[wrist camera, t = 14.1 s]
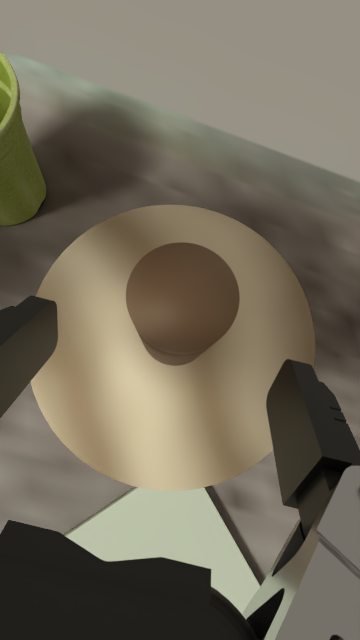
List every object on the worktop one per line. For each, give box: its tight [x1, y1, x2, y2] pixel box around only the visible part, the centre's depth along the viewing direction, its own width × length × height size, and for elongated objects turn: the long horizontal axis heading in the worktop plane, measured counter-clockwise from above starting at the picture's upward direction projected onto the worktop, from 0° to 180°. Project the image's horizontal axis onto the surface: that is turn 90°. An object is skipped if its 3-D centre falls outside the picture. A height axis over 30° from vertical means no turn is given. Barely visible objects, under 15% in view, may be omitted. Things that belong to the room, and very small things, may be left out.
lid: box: [31, 204, 316, 491], centre depth 12 cm, size 15×15×8 cm
